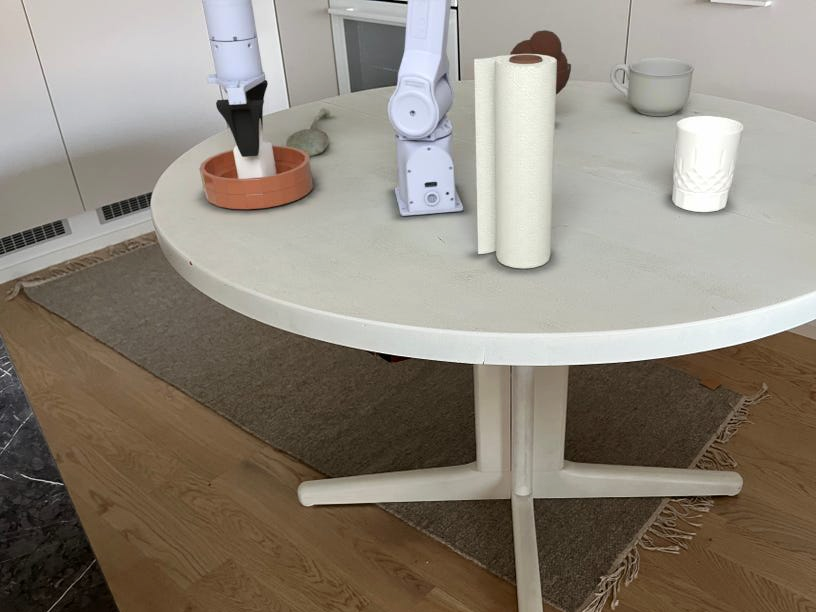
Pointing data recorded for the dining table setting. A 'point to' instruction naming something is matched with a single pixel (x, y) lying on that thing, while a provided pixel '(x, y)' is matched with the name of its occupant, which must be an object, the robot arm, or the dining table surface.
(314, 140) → the soupspoon
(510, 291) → the dining table surface
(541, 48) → the brown rounded tall piece
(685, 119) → the white cup
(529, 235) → the paper towel roll
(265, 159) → the pepper shaker
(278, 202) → the clay bowl
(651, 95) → the teacup
